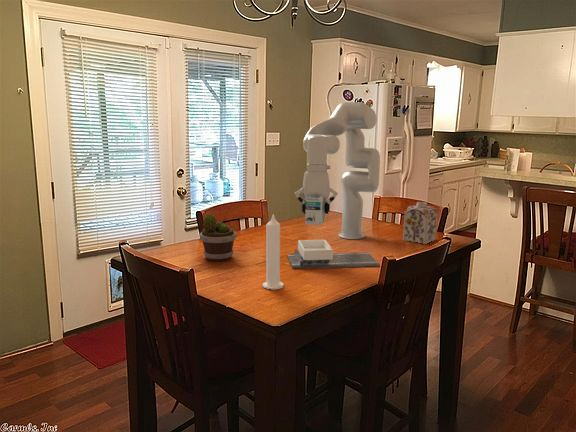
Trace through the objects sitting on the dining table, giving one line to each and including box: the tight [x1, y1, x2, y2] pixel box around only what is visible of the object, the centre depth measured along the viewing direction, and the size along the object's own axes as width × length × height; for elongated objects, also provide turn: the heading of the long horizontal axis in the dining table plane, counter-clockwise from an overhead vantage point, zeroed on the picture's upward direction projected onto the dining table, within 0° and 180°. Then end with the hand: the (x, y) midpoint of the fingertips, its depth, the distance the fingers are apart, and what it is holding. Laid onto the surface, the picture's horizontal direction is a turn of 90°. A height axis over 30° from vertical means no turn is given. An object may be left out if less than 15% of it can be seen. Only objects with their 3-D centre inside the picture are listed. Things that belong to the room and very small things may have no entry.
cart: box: [297, 239, 334, 264], centre depth 191 cm, size 15×11×6 cm
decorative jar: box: [402, 201, 438, 245], centre depth 225 cm, size 12×12×18 cm
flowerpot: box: [199, 210, 238, 262], centre depth 194 cm, size 14×15×20 cm
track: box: [286, 249, 380, 270], centre depth 192 cm, size 16×34×3 cm, turn 97°
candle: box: [262, 213, 284, 291], centre depth 162 cm, size 7×7×25 cm
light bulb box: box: [304, 196, 326, 226], centre depth 187 cm, size 11×7×11 cm, turn 169°
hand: (315, 213), depth 188 cm, fingers closed on light bulb box, 8 cm apart
